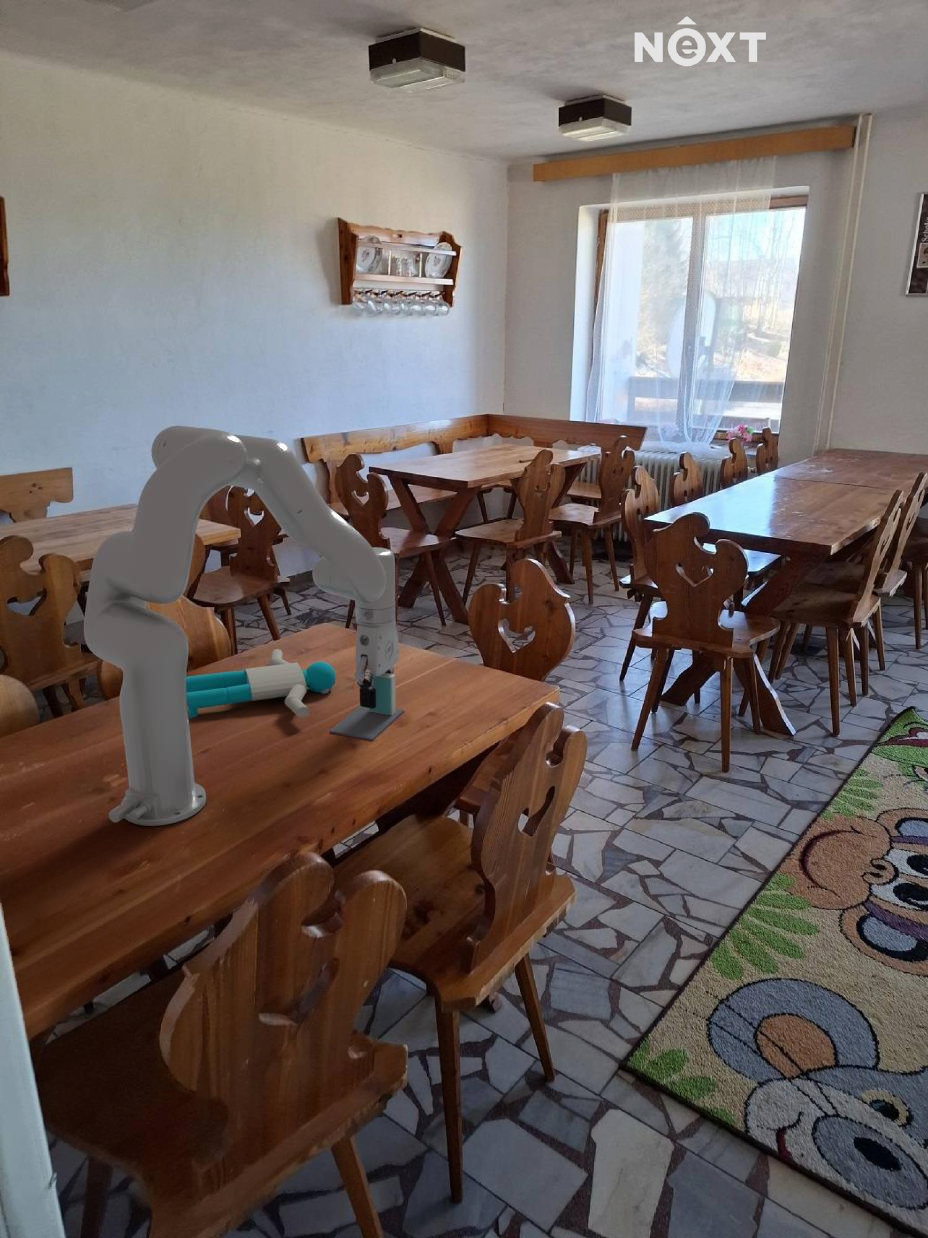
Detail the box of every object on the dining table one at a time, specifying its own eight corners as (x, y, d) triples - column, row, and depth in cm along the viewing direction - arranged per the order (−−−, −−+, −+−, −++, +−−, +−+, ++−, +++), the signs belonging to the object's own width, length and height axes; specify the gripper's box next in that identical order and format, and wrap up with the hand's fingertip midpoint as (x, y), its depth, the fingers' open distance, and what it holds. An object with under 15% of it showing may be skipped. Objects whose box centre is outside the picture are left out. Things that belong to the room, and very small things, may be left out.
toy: (193, 746, 154) (354, 722, 164) (189, 713, 152) (353, 691, 162) (184, 679, 185) (320, 662, 194) (181, 651, 183) (319, 635, 192)
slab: (391, 716, 165) (391, 678, 163) (368, 712, 167) (367, 674, 164) (395, 712, 167) (395, 674, 164) (372, 708, 169) (372, 670, 166)
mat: (372, 740, 156) (372, 738, 156) (329, 732, 159) (329, 730, 159) (404, 711, 168) (404, 709, 168) (363, 704, 171) (363, 702, 171)
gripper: (372, 629, 152) (374, 720, 157) (412, 603, 167) (412, 686, 173) (335, 624, 154) (338, 713, 160) (377, 599, 170) (379, 681, 175)
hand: (376, 699), depth 166 cm, fingers open, 7 cm apart
